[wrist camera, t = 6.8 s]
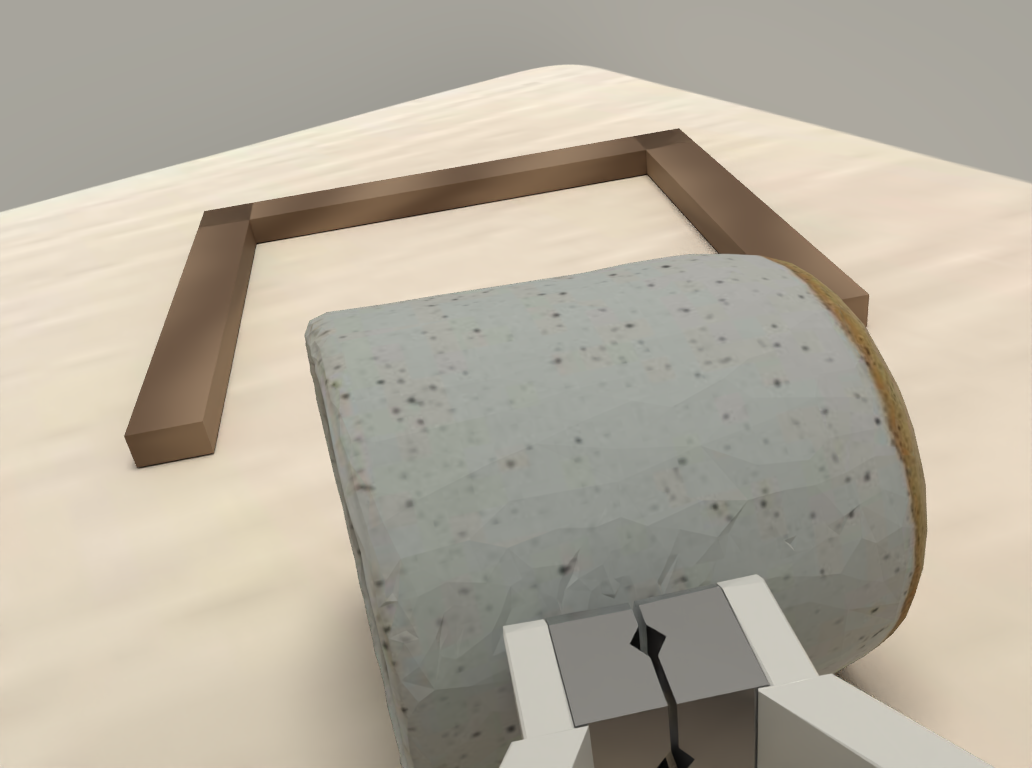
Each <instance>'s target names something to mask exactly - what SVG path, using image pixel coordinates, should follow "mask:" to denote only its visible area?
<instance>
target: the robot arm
mask: <svg viewBox="0 0 1032 768" xmlns="http://www.w3.org/2000/svg"><path fill="white" fill-rule="evenodd" d="M503 637H504V643H505V648H506V654H507V659H508V665H509V670H510V676H511V681H512V687H513V693H514V698H515V704H516V709H517V715H518V720H519V726H520V732H521V737H522V740H519V741H514V742H511V744H510V746H509V748H508V750H507V752H506V754H505V756H504V759H503V761H502V763H501V765H500V767H499V768H995V767H993V766H991V765H990V764H988V763H986V762H984V761H983V760H981V759H979V758H977V757H976V756H974V755H972V754H971V753H969V752H967V751H965V750H964V749H962V748H960V747H958V746H957V745H955V744H953V743H951V742H950V741H948V740H946V739H945V738H943V737H941V736H939V735H938V734H936V733H934V732H932V731H931V730H929V729H927V728H925V727H924V726H922V725H920V724H919V723H917V722H915V721H913V720H912V719H910V718H908V717H906V716H905V715H903V714H901V713H899V712H898V711H896V710H894V709H893V708H891V707H889V706H887V705H886V704H884V703H882V702H880V701H879V700H877V699H875V698H873V697H872V696H870V695H868V694H867V693H865V692H863V691H861V690H860V689H858V688H856V687H854V686H853V685H851V684H849V683H847V682H846V681H844V680H842V679H841V678H839V677H837V676H835V675H834V674H832V673H831V674H826V675H820V676H819V675H818V673H817V671H816V669H815V668H814V666H813V664H812V662H811V661H810V659H809V657H808V655H807V654H806V652H805V650H804V648H803V647H802V645H801V643H800V641H799V640H798V638H797V636H796V635H795V633H794V631H793V629H792V628H791V626H790V624H789V622H788V621H787V619H786V617H785V615H784V614H783V612H782V610H781V608H780V607H779V605H778V603H777V601H776V600H775V598H774V596H773V594H772V593H771V591H770V589H769V587H768V586H767V584H766V582H765V580H764V579H763V578H762V577H760V576H759V575H757V574H755V575H750V576H746V577H741V578H736V579H732V580H727V581H723V582H718V583H716V584H709V585H705V586H700V587H695V588H691V589H686V590H682V591H677V592H672V593H668V594H663V595H658V596H654V597H649V598H645V599H640V600H635V601H634V604H633V611H632V608H631V607H630V605H629V603H624V604H618V605H613V606H607V607H601V608H596V609H590V610H585V611H579V612H574V613H568V614H563V615H557V616H552V617H546V621H545V619H541V620H535V621H529V622H524V623H518V624H512V625H507V626H503ZM640 644H641V647H640Z"/></svg>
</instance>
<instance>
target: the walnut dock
mask: <svg viewBox="0 0 1032 768" xmlns="http://www.w3.org/2000/svg"><path fill="white" fill-rule="evenodd" d="M643 174H648V175H649V176H650V177H651V178H652V180H653V181H654V182H655V183H656V184H657V185H658V186H659V187H660V188H661V189H662V191H663V192H664V193H665V194H666V195H667V196H668V197H669V198H670V199H671V201H672V202H673V203H674V204H675V205H676V206H677V207H678V208H679V209H680V211H681V212H682V213H683V214H684V215H685V216H686V217H687V218H688V219H689V221H690V222H691V223H692V224H693V225H694V226H695V227H696V228H697V229H698V231H699V232H700V233H701V234H702V235H703V236H704V237H705V238H706V239H707V241H708V242H709V243H710V244H711V245H712V246H713V247H714V248H715V249H716V251H717V252H718V253H719V254H739V255H761V256H765V257H769V258H774V259H778V260H782V261H786V262H790V263H792V264H794V265H796V266H797V267H799V268H801V269H803V270H804V271H806V272H808V273H810V274H811V275H813V276H814V277H815V278H817V279H818V280H819V281H821V282H822V283H823V284H824V285H826V286H827V287H828V288H829V289H831V290H832V291H833V292H834V293H836V294H837V295H838V296H839V297H840V298H841V300H842V301H843V302H844V303H845V304H846V305H847V306H848V307H849V308H850V310H851V311H852V312H853V313H854V314H855V315H856V316H857V317H858V318H859V320H860V321H861V322H862V323H863V324H864V325H865V327H867V317H868V302H869V294H868V293H867V292H866V291H865V290H863V289H862V288H861V287H860V286H859V285H858V284H857V283H855V282H854V281H853V280H852V279H851V278H850V277H849V276H847V275H846V274H845V273H844V272H843V271H842V270H841V269H839V268H838V267H837V266H836V265H835V264H834V263H833V262H831V261H830V260H829V259H828V258H827V257H826V256H825V255H823V254H822V253H821V252H820V251H819V250H818V249H816V248H815V247H814V246H813V245H812V244H811V243H810V242H808V241H807V240H806V239H805V238H804V237H803V236H802V235H800V234H799V233H798V232H797V231H796V230H795V229H794V228H792V227H791V226H790V225H789V224H788V223H787V222H786V221H784V220H783V219H782V218H781V217H780V216H779V215H778V214H776V213H775V212H774V211H773V210H772V209H771V208H769V207H768V206H767V205H766V204H765V203H764V202H763V201H761V200H760V199H759V198H758V197H757V196H756V195H755V194H753V193H752V192H751V191H750V190H749V189H748V188H747V187H745V186H744V185H743V184H742V183H741V182H740V181H739V180H737V179H736V178H735V177H734V176H733V175H732V174H731V173H729V172H728V171H727V170H726V169H725V168H724V167H723V166H721V165H720V164H719V163H718V162H717V161H716V160H714V159H713V158H712V157H711V156H710V155H709V154H708V153H706V152H705V151H704V150H703V149H702V148H701V147H700V146H698V145H697V144H696V143H695V142H694V141H693V140H692V139H690V138H689V137H688V136H687V135H686V134H685V133H684V132H682V131H681V130H680V129H679V128H678V129H673V130H667V131H661V132H656V133H650V134H644V135H638V136H633V137H627V138H621V139H615V140H610V141H604V142H598V143H593V144H587V145H581V146H575V147H570V148H564V149H558V150H552V151H547V152H541V153H535V154H530V155H524V156H518V157H512V158H507V159H501V160H495V161H489V162H484V163H478V164H472V165H467V166H461V167H455V168H449V169H444V170H438V171H432V172H426V173H421V174H415V175H409V176H404V177H398V178H392V179H386V180H381V181H375V182H369V183H363V184H358V185H352V186H346V187H341V188H335V189H329V190H323V191H318V192H312V193H306V194H300V195H295V196H289V197H283V198H278V199H272V200H266V201H260V202H255V203H249V204H243V205H237V206H232V207H226V208H220V209H215V210H209V211H204V214H203V217H202V220H201V222H200V225H199V228H198V231H197V234H196V236H195V239H194V242H193V245H192V248H191V250H190V253H189V256H188V259H187V262H186V264H185V267H184V270H183V273H182V276H181V278H180V281H179V284H178V287H177V290H176V292H175V295H174V298H173V301H172V304H171V306H170V309H169V312H168V315H167V318H166V320H165V323H164V326H163V329H162V332H161V334H160V337H159V340H158V343H157V346H156V348H155V351H154V354H153V357H152V360H151V363H150V365H149V368H148V371H147V374H146V377H145V379H144V382H143V385H142V388H141V391H140V393H139V396H138V399H137V402H136V405H135V407H134V410H133V413H132V416H131V419H130V421H129V424H128V427H127V430H126V433H125V435H124V437H125V439H126V442H127V444H128V447H129V449H130V452H131V454H132V456H133V459H134V461H135V464H136V466H137V468H138V467H143V466H148V465H153V464H158V463H164V462H169V461H174V460H179V459H184V458H189V457H195V456H200V455H205V454H210V453H214V449H215V444H216V439H217V434H218V430H219V425H220V420H221V415H222V410H223V405H224V400H225V395H226V390H227V385H228V380H229V375H230V370H231V365H232V361H233V356H234V351H235V346H236V341H237V336H238V331H239V326H240V321H241V316H242V311H243V306H244V301H245V296H246V292H247V287H248V282H249V277H250V272H251V267H252V262H253V257H254V252H255V247H256V243H260V242H266V241H272V240H277V239H283V238H289V237H294V236H300V235H305V234H311V233H317V232H322V231H328V230H334V229H339V228H345V227H351V226H356V225H362V224H367V223H373V222H379V221H384V220H390V219H396V218H401V217H407V216H412V215H418V214H424V213H429V212H435V211H441V210H446V209H452V208H457V207H463V206H469V205H474V204H480V203H486V202H491V201H497V200H502V199H508V198H514V197H519V196H525V195H531V194H536V193H542V192H547V191H553V190H559V189H564V188H570V187H576V186H581V185H587V184H592V183H598V182H604V181H609V180H615V179H621V178H626V177H632V176H638V175H643Z"/></svg>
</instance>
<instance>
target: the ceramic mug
mask: <svg viewBox="0 0 1032 768" xmlns="http://www.w3.org/2000/svg"><path fill="white" fill-rule="evenodd" d="M305 340H306V348H307V353H308V359H309V363H310V373H311V375H312V378H313V382H314V386H315V393H316V400H317V404H318V408H319V412H320V416H321V420H322V425H323V429H324V434H325V438H326V442H327V446H328V451H329V455H330V459H331V463H332V467H333V472H334V476H335V480H336V484H337V488H338V491H339V495H340V499H341V502H342V506H343V510H344V515H345V520H346V525H347V530H348V534H349V539H350V543H351V547H352V550H353V554H354V558H355V563H356V568H357V573H358V579H359V584H360V588H361V591H362V595H363V598H364V602H365V607H366V612H367V617H368V621H369V626H370V630H371V634H372V639H373V644H374V651H375V654H376V657H377V660H378V663H379V666H380V669H381V673H382V678H383V682H384V686H385V692H386V699H387V705H388V709H389V713H390V717H391V721H392V725H393V729H394V733H395V737H396V741H397V745H398V749H399V752H400V762H401V765H402V767H403V768H499V767H500V765H501V763H502V761H503V759H504V756H505V754H506V752H507V750H508V748H509V746H510V744H511V742H514V741H519V740H522V737H521V732H520V726H519V720H518V715H517V709H516V704H515V698H514V693H513V687H512V681H511V676H510V670H509V665H508V659H507V654H506V648H505V643H504V637H503V626H507V625H512V624H518V623H524V622H529V621H535V620H541V619H545V621H546V617H552V616H557V615H563V614H568V613H574V612H579V611H585V610H590V609H596V608H601V607H607V606H613V605H618V604H624V603H629V605H630V607H631V608H632V611H633V604H634V601H635V600H640V599H645V598H649V597H654V596H658V595H663V594H668V593H672V592H677V591H682V590H686V589H691V588H695V587H700V586H705V585H709V584H716V583H718V582H723V581H727V580H732V579H736V578H741V577H746V576H750V575H755V574H757V575H759V576H760V577H762V578H763V579H764V580H765V582H766V584H767V586H768V587H769V589H770V591H771V593H772V594H773V596H774V598H775V600H776V601H777V603H778V605H779V607H780V608H781V610H782V612H783V614H784V615H785V617H786V619H787V621H788V622H789V624H790V626H791V628H792V629H793V631H794V633H795V635H796V636H797V638H798V640H799V641H800V643H801V645H802V647H803V648H804V650H805V652H806V654H807V655H808V657H809V659H810V661H811V662H812V664H813V666H814V668H815V669H816V671H817V673H818V675H819V676H820V675H826V674H831V673H832V674H834V673H836V672H838V671H840V670H841V669H843V668H845V667H847V666H848V665H850V664H852V663H853V662H855V661H857V660H859V659H860V658H862V657H864V656H865V655H866V654H868V653H869V652H871V651H872V650H873V649H875V648H876V647H877V646H879V645H880V644H881V643H882V642H884V641H885V640H886V639H887V638H888V637H890V636H891V635H892V634H893V633H894V631H895V630H896V629H897V628H898V626H899V625H900V624H901V623H902V621H903V620H904V619H905V618H906V615H907V613H908V610H909V608H910V606H911V603H912V601H913V598H914V596H915V593H916V589H917V586H918V583H919V579H920V576H921V573H922V570H923V565H924V556H925V546H926V537H927V511H926V484H925V479H924V473H923V468H922V463H921V459H920V454H919V450H918V446H917V441H916V437H915V433H914V428H913V425H912V423H911V420H910V417H909V414H908V411H907V408H906V405H905V402H904V400H903V397H902V395H901V392H900V390H899V387H898V385H897V383H896V381H895V380H894V378H893V376H892V374H891V372H890V370H889V368H888V366H887V365H886V363H885V361H884V359H883V357H882V355H881V354H880V352H879V350H878V348H877V347H876V345H875V343H874V341H873V339H872V338H871V336H870V334H869V332H868V331H867V329H866V327H865V325H864V324H863V323H862V322H861V321H860V320H859V318H858V317H857V316H856V315H855V314H854V313H853V312H852V311H851V310H850V308H849V307H848V306H847V305H846V304H845V303H844V302H843V301H842V300H841V298H840V297H839V296H838V295H837V294H836V293H834V292H833V291H832V290H831V289H829V288H828V287H827V286H826V285H824V284H823V283H822V282H821V281H819V280H818V279H817V278H815V277H814V276H813V275H811V274H810V273H808V272H806V271H804V270H803V269H801V268H799V267H797V266H796V265H794V264H792V263H790V262H786V261H782V260H778V259H774V258H769V257H765V256H761V255H739V254H688V255H680V256H672V257H665V258H659V259H653V260H647V261H641V262H634V263H628V264H623V265H618V266H614V267H609V268H604V269H600V270H595V271H590V272H586V273H581V274H574V275H568V276H561V277H555V278H548V279H542V280H535V281H529V282H522V283H516V284H509V285H503V286H496V287H490V288H483V289H477V290H470V291H463V292H457V293H450V294H443V295H437V296H431V297H425V298H419V299H413V300H407V301H401V302H395V303H389V304H383V305H376V306H369V307H362V308H354V309H347V310H340V311H333V312H326V313H324V314H322V315H320V316H318V317H316V318H314V319H312V320H310V321H309V324H308V327H307V330H306V332H305ZM640 647H641V644H640Z"/></svg>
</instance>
